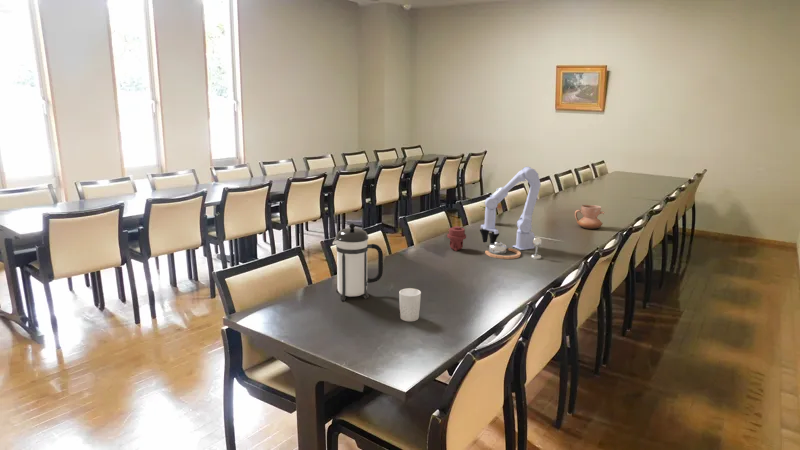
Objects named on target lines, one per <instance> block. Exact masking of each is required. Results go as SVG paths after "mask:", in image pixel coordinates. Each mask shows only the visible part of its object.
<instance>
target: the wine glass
mask: <svg viewBox="0 0 800 450" xmlns="http://www.w3.org/2000/svg"><path fill="white" fill-rule="evenodd" d="M542 243H543V241H542V238H540V237H538V236H537V237H536V236H535V238H534V239H533V244H534V247H535V253H533V254H531V255H530V258H531V259H533V260H541V259H542V255H541V254H538V249H539V247H540V246H541V245H543V244H542Z"/></svg>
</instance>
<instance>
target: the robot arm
mask: <svg viewBox="0 0 800 450" xmlns="http://www.w3.org/2000/svg"><path fill="white" fill-rule="evenodd" d="M526 181H527V183H528V184H529V191H528V193H527V196H526V199H525V200H526V201H525V203H524V207H523V210H522V213H521V215H520V216H519V219H518V220H517V222H516V227H517V228H518V229H517V230H516V241H515V244H514V245H512V247H514V249H516V250H519V251H523V250H532V249H536V246H535V245H534V244H533V239H534V238H536V236H535V233H534V232H533V231H532V229H533V227H532V226H533V225H532V220H533V218H532V217H533V214H534V213H533V212H534V210H535V206H536V203H537V200H538V197H539V192H540V189H541V186H542V185H541V181H540V177H539V173H538V171H536V169H534V168H532V167H531V166H524V167H523V168H522V169H520V170H519V171H518V172H517V173H516V174H515V175H514V176H513V177H512V178H511V179H510V180H509V181H508V182H507V183H506V184H505V185H504V186H501V187H497V188H496V189H495V190H496V191H495V192H493V193H492V194H490V195H489V197H486V198H485V201H484V205H485V207H486V208H484V209H485V210H484V223H483V224H480V229H479V232H480V234H481V235H480V236H481V239H482V242H483V243H487V242H488V239H489V245H490V244H491V243H494V242H496V241H497V239H498V237H499V235H500V233H499V230H498V229H497V228H496V219H495V217H496V218H497V211H496V210H497V207H498V206H499V204H500V203H501V202H502V201H503V200H504V199H505V198H506V197H507V196H508V192H509V191H511V189H513V188H514V187H515V186H516V185H518V183H521V182H526ZM497 205H498V206H497ZM488 237H489V238H488Z"/></svg>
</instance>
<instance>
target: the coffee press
mask: <svg viewBox="0 0 800 450" xmlns="http://www.w3.org/2000/svg"><path fill="white" fill-rule="evenodd" d="M368 240H369V235H368V233H367V231H366V230H363V229H361V228H356V226H355V223H351V222H350V224H349V226H348V227H347V228H343V229H340V230H339V231H338V232H337V234H336V235H335V238H334V240H333V241H332V245H335V246H336V247H335V248H336V249H335V250H336V261H337V262H336V265H337V266H336V272H337V275H336V276H337V285H336V286H337V289H336V291H335V292H336V293H337V294H340V295H341V296H340V297H341V298H340V301H341V302H345V301H346V300H347V298H348V297H359V296H361V297H363V298H364V299H365V300H367V299H368V298H369V297H370V295H369V294H368V284H370V283H375V282H378V281H380V279H381V278H382V276H383V272H384V271H383V270H384V253H383V250H382V248H381V246H379V245H378V244H375V243H371V244H368ZM369 249H373V250H376V251H377V254H378V255H377V258H378V259H377V262H378V263H377V274H376V276H374V277H370V278H368V250H369Z"/></svg>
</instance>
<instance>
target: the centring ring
mask: <svg viewBox="0 0 800 450" xmlns="http://www.w3.org/2000/svg"><path fill="white" fill-rule="evenodd" d="M507 251H509V252H512V253H515V254H513V255H502V254H495V253H491V252H489V250H485V252H484V253H485V255H486V256H489V257H491V258H494V259H500V260H501V259H502V260H513V259H517V258H520V257H521V254H522V253H521V250H519V249H517V248H512V247H507Z"/></svg>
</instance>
